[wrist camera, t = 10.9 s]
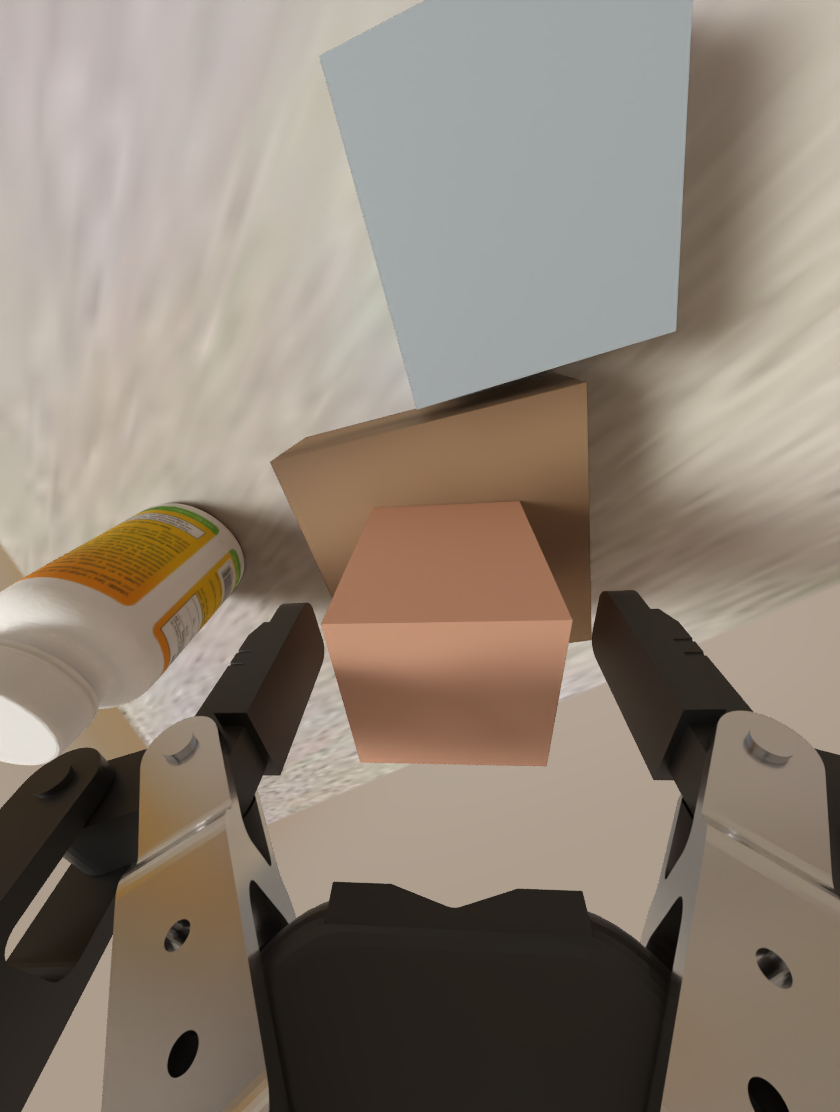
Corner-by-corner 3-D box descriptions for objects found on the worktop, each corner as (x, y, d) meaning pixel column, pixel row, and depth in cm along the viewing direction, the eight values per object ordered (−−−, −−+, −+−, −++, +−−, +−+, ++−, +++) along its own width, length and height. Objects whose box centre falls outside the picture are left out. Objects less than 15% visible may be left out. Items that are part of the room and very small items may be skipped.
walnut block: (309, 434, 15) (270, 462, 12) (551, 371, 14) (586, 382, 10) (379, 614, 20) (365, 669, 17) (564, 584, 18) (591, 640, 15)
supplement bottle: (114, 522, 18) (-182, 685, 9) (199, 483, 16) (-59, 630, 8) (190, 604, 20) (8, 791, 12) (268, 575, 19) (126, 763, 10)
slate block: (359, 147, 11) (319, 55, 7) (606, 33, 9) (700, -146, 6) (423, 393, 14) (416, 409, 11) (613, 334, 13) (675, 331, 9)
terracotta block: (372, 508, 13) (320, 623, 7) (519, 500, 12) (572, 620, 7) (390, 618, 15) (360, 762, 10) (511, 616, 15) (546, 766, 9)
